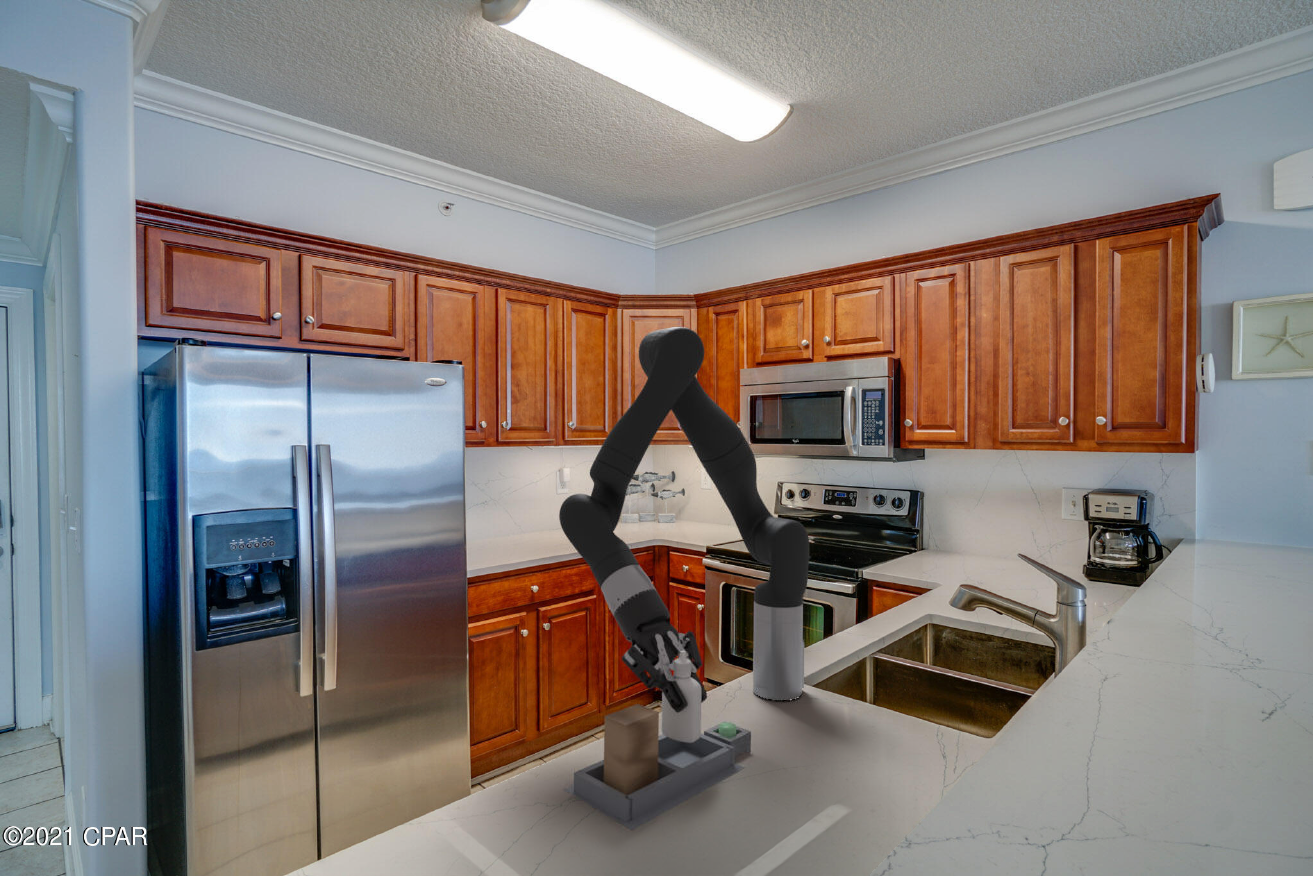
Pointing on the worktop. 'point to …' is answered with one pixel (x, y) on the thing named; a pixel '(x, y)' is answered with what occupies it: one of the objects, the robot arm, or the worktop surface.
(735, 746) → the button box
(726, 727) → the button
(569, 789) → the tray
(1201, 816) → the worktop surface
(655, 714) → the walnut block
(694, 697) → the eye dropper bottle
